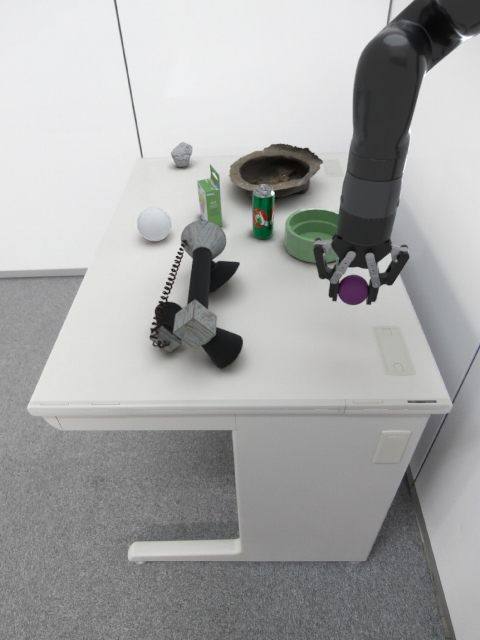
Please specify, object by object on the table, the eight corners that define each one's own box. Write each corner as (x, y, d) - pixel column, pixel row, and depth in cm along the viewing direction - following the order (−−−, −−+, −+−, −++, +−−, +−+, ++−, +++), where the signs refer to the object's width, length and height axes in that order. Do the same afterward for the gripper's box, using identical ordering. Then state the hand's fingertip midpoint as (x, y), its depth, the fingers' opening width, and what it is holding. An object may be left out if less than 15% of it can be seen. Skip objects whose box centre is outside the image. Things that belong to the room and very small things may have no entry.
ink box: (199, 216, 114) (195, 166, 105) (214, 213, 115) (211, 163, 105) (207, 229, 109) (203, 178, 100) (222, 226, 110) (220, 175, 101)
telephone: (195, 290, 100) (185, 393, 78) (153, 255, 94) (127, 357, 71) (245, 251, 93) (249, 352, 71) (203, 211, 87) (192, 307, 65)
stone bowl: (332, 180, 126) (335, 149, 119) (293, 226, 112) (295, 194, 105) (257, 162, 136) (256, 132, 129) (212, 202, 121) (209, 171, 115)
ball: (179, 241, 105) (174, 211, 100) (148, 251, 102) (142, 221, 97) (165, 226, 110) (160, 197, 105) (135, 236, 107) (128, 206, 102)
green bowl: (348, 232, 106) (352, 210, 102) (346, 268, 96) (351, 244, 92) (288, 227, 109) (289, 205, 105) (280, 261, 98) (281, 238, 94)
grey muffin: (197, 167, 136) (195, 144, 131) (176, 172, 133) (174, 149, 129) (189, 160, 140) (186, 137, 135) (168, 165, 137) (165, 142, 133)
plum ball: (366, 293, 72) (371, 270, 69) (366, 313, 68) (371, 288, 65) (336, 290, 73) (340, 267, 70) (335, 309, 69) (338, 285, 66)
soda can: (267, 227, 109) (268, 181, 101) (277, 237, 106) (279, 190, 97) (248, 232, 107) (248, 186, 99) (258, 242, 104) (259, 195, 96)
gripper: (422, 192, 60) (396, 290, 72) (317, 186, 63) (308, 281, 74) (428, 220, 55) (398, 320, 67) (313, 212, 57) (304, 310, 69)
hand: (351, 299), depth 70 cm, fingers closed on plum ball, 4 cm apart
